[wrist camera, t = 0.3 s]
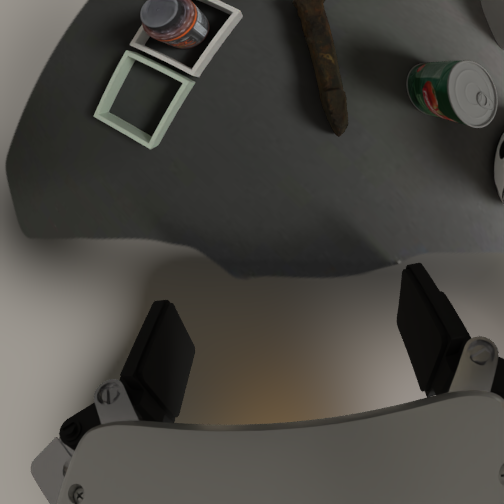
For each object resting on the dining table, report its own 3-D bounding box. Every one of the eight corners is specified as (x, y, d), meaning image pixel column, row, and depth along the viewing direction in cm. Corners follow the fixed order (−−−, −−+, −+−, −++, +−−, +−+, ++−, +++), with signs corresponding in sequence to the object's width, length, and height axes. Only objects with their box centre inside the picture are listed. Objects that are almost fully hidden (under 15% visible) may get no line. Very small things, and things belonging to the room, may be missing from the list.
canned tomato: (400, 103, 32) (441, 111, 22) (411, 54, 28) (453, 47, 18) (445, 123, 32) (490, 138, 23) (455, 77, 28) (502, 80, 18)
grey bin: (179, -12, 25) (172, -18, 23) (242, 16, 28) (240, 10, 25) (138, 47, 30) (129, 44, 27) (198, 77, 32) (192, 75, 30)
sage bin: (136, 52, 30) (126, 50, 28) (195, 82, 33) (189, 81, 30) (104, 113, 35) (93, 116, 32) (158, 145, 37) (150, 149, 35)
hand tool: (290, 4, 26) (293, -7, 22) (321, 2, 26) (327, -9, 22) (315, 135, 36) (320, 141, 32) (344, 133, 35) (353, 138, 31)
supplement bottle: (167, 53, 30) (129, 42, 21) (166, 15, 27) (129, -6, 18) (211, 46, 30) (187, 29, 20) (210, 8, 27) (186, -21, 17)
